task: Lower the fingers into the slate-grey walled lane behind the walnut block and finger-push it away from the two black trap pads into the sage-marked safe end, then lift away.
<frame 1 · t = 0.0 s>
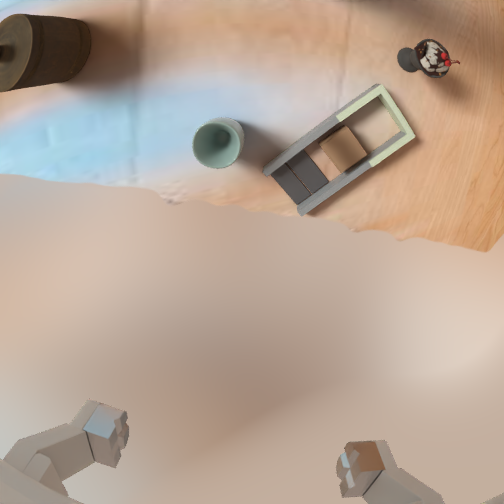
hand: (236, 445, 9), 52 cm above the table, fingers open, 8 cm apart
cup: (226, 134, 54), on the table
wooden container: (64, 50, 44), on the table
sundae: (408, 59, 42), on the table
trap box: (338, 147, 53), on the table
block: (340, 145, 53), resting in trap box
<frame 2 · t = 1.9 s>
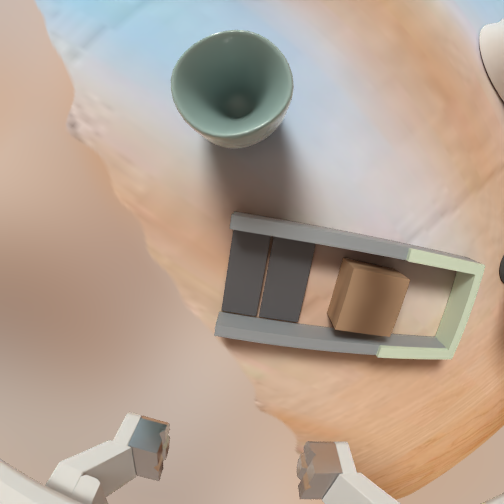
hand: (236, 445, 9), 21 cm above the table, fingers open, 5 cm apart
cup: (240, 113, 27), on the table
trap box: (357, 290, 30), on the table
block: (361, 290, 30), resting in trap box
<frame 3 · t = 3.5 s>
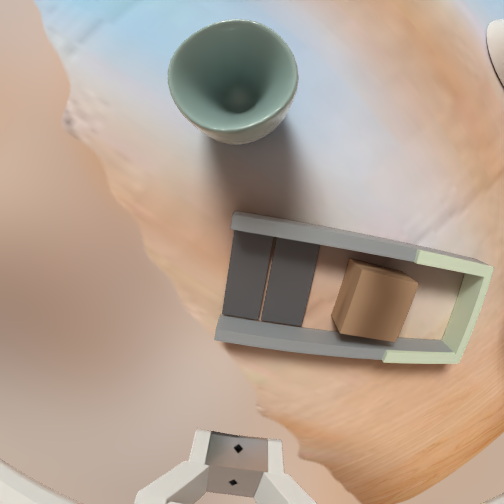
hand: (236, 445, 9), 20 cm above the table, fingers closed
cup: (241, 108, 25), on the table
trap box: (363, 293, 29), on the table
block: (366, 292, 29), resting in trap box
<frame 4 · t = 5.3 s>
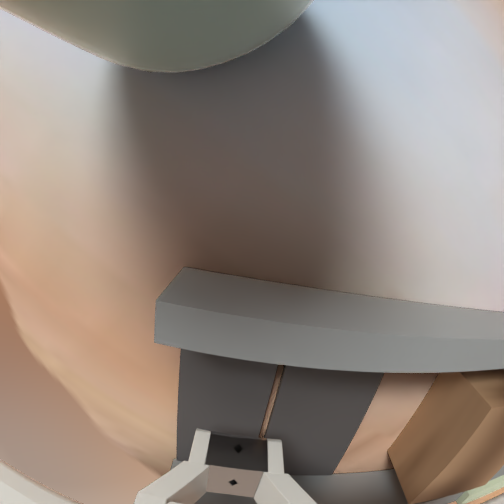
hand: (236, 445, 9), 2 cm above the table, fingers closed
cup: (203, 7, 8), on the table
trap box: (450, 411, 11), on the table
block: (455, 408, 12), resting in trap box
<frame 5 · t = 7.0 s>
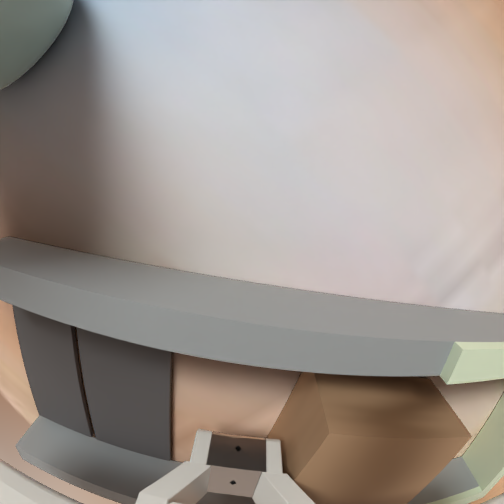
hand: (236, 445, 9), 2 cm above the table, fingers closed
cup: (32, 33, 8), on the table
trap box: (302, 418, 11), on the table
block: (344, 422, 11), resting in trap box, touching gripper
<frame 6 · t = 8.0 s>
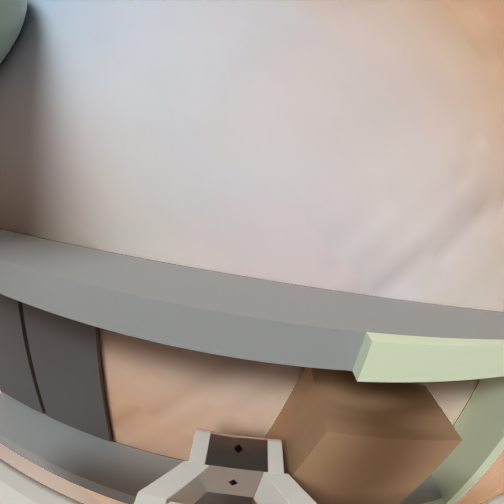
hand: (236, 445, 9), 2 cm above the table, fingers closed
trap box: (228, 407, 11), on the table
block: (339, 423, 12), resting in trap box
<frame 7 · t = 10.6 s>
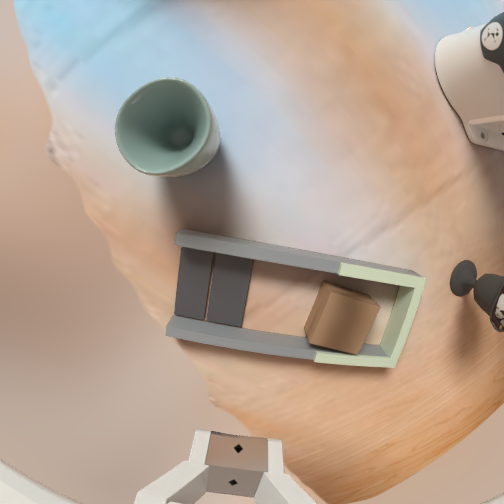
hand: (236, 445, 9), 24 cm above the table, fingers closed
cup: (188, 141, 31), on the table
sundae: (463, 277, 34), on the table
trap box: (295, 299, 34), on the table
block: (336, 310, 34), resting in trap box
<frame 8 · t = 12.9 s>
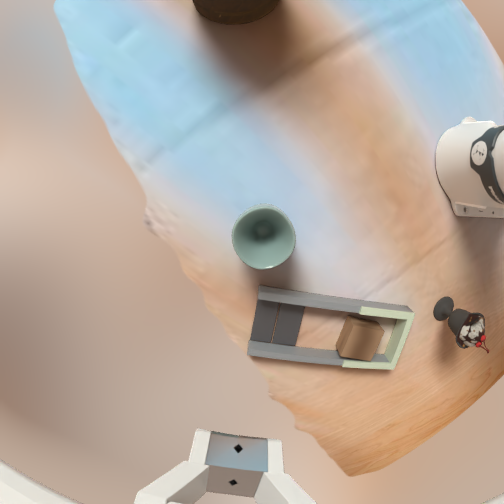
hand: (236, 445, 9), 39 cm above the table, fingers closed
cup: (262, 226, 47), on the table
sundae: (443, 308, 50), on the table
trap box: (330, 327, 51), on the table
block: (356, 333, 51), resting in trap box
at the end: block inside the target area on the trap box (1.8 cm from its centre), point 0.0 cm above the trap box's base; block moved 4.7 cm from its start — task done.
